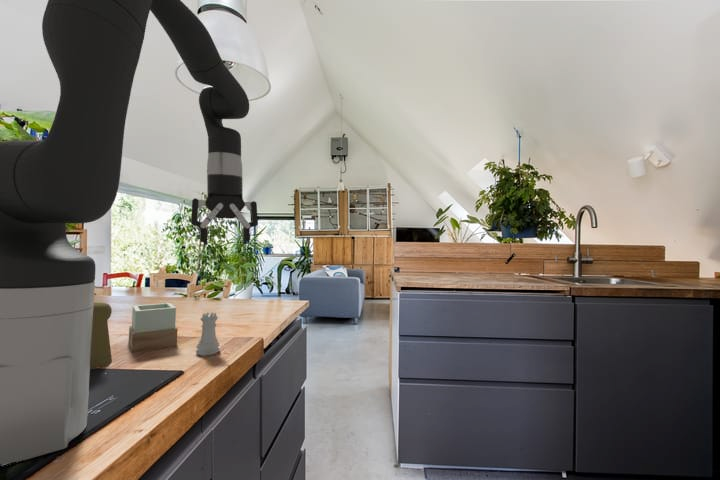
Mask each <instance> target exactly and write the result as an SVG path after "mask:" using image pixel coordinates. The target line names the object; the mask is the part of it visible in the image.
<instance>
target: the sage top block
mask: <svg viewBox="0 0 720 480" xmlns="http://www.w3.org/2000/svg"><path fill="white" fill-rule="evenodd" d="M131 314H132V315H131V326H132V328H133V330H134V333H141V332H149V331H157V330H165V329H174V328H175V326H176V321H177V320H176V316H177V307H176V306H174V304H172V303H171V302H162V303H151V304H141V305H140V304H139V305H132V311H131Z"/></svg>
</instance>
